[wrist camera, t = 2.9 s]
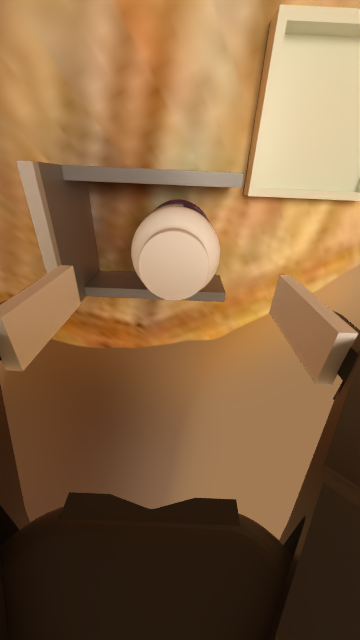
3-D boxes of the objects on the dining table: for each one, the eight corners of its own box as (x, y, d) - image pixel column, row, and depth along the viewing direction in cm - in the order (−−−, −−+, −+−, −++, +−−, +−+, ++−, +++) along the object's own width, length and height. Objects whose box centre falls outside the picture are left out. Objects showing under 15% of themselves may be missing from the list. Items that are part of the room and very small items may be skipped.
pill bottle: (214, 254, 32) (234, 302, 19) (159, 270, 33) (144, 324, 20) (201, 189, 28) (215, 196, 15) (138, 209, 29) (104, 231, 16)
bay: (92, 278, 34) (57, 315, 24) (74, 167, 27) (16, 160, 17) (218, 283, 34) (231, 322, 24) (232, 174, 27) (257, 171, 17)
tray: (243, 194, 28) (247, 195, 26) (270, 22, 21) (280, 4, 19) (355, 199, 28) (369, 201, 26) (420, 30, 21) (447, 12, 19)
